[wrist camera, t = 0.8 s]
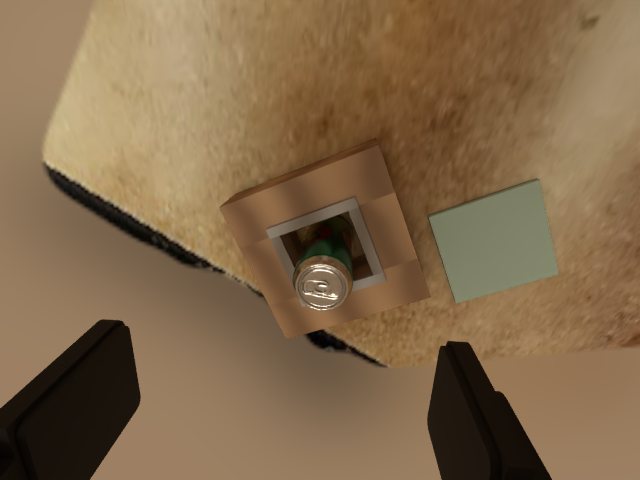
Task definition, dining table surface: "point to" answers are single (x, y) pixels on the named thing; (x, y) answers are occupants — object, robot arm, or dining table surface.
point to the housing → (316, 205)
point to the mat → (495, 241)
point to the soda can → (325, 265)
